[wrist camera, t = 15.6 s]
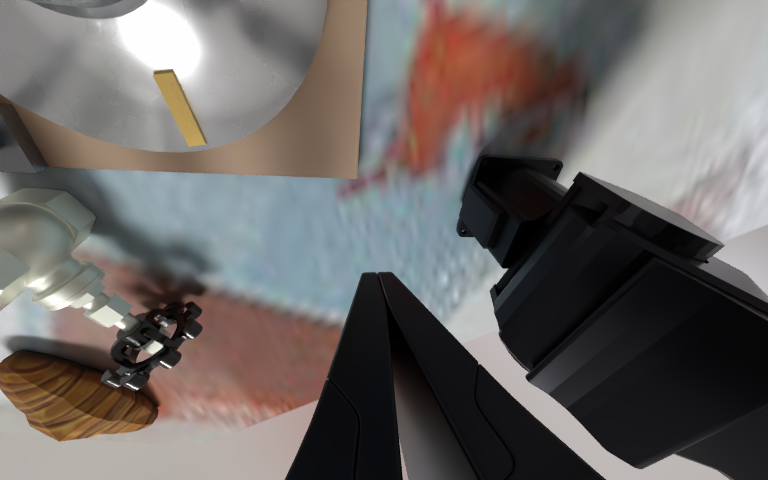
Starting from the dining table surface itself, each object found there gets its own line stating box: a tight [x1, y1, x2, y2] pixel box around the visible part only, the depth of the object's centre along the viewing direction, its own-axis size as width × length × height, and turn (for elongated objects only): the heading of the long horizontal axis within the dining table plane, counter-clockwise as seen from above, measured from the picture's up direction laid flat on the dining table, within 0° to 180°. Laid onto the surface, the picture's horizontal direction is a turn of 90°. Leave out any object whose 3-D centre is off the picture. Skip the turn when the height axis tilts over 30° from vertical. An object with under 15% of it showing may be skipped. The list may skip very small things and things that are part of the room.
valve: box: [0, 188, 203, 391], centre depth 17 cm, size 7×7×12 cm
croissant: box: [0, 351, 158, 441], centre depth 25 cm, size 14×7×5 cm, turn 21°
